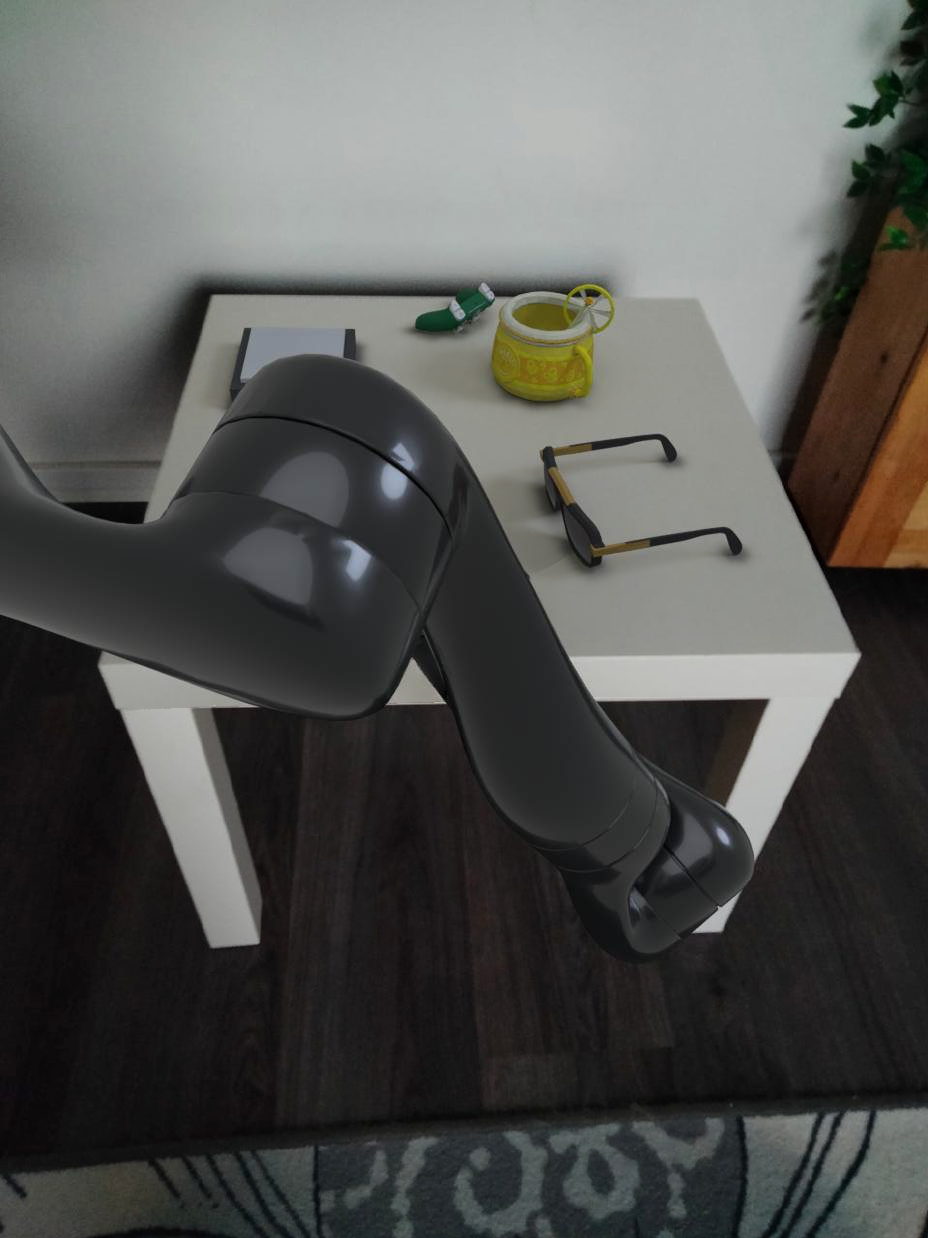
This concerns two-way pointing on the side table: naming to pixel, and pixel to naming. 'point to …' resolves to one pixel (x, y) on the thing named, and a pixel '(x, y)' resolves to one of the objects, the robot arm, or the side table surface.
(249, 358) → the scale
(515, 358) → the mug
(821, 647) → the side table surface
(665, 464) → the side table surface
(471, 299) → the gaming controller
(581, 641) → the side table surface
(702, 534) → the sunglasses
